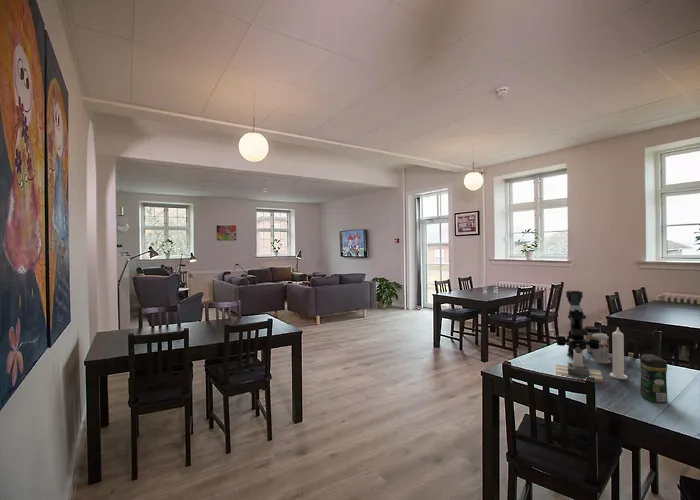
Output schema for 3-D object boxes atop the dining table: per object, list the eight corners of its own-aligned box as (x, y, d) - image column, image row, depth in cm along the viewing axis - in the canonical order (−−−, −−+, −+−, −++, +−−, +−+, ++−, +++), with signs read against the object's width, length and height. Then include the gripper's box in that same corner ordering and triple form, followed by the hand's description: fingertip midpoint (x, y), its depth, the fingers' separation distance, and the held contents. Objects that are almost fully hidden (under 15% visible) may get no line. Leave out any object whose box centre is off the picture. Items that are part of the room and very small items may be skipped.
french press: (586, 359, 209) (585, 316, 208) (598, 356, 214) (598, 313, 213) (604, 364, 200) (603, 319, 199) (616, 360, 205) (616, 316, 204)
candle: (630, 379, 178) (629, 328, 177) (614, 378, 179) (613, 328, 178) (622, 374, 185) (622, 325, 184) (607, 373, 186) (606, 325, 185)
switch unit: (555, 366, 198) (555, 356, 198) (600, 372, 188) (600, 361, 188) (555, 376, 184) (555, 365, 184) (603, 383, 174) (603, 371, 174)
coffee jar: (637, 393, 162) (636, 352, 162) (658, 394, 160) (657, 353, 160) (648, 402, 153) (648, 359, 152) (671, 404, 151) (670, 360, 150)
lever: (573, 362, 188) (573, 345, 184) (582, 363, 186) (582, 346, 182) (573, 366, 186) (573, 349, 182) (582, 367, 184) (583, 350, 180)
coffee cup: (605, 354, 216) (605, 329, 216) (589, 354, 217) (589, 329, 216) (595, 349, 226) (595, 325, 225) (580, 350, 226) (579, 326, 226)
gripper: (556, 320, 194) (556, 346, 185) (598, 323, 185) (601, 351, 175) (556, 331, 201) (557, 357, 192) (597, 335, 192) (599, 362, 182)
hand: (578, 356), depth 185 cm, fingers closed, pressing on lever
